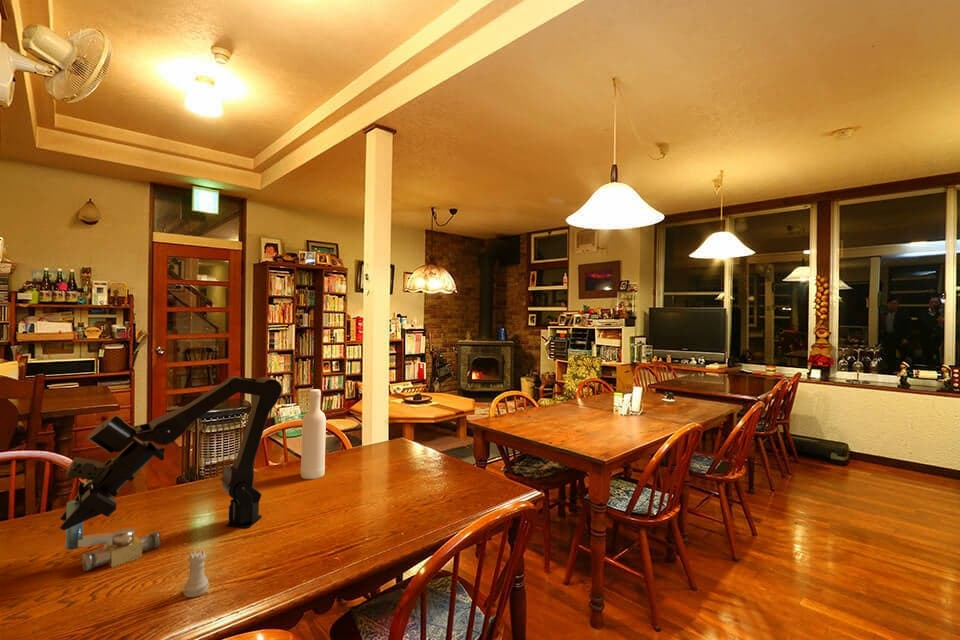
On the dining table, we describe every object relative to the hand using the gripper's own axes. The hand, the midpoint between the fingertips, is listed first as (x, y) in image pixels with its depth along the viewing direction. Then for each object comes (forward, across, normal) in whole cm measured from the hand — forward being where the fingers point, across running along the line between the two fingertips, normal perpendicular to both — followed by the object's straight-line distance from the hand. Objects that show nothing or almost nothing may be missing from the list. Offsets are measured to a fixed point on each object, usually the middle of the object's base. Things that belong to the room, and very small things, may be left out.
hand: (61, 524), depth 99 cm
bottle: (-38, -23, +53) cm, 69 cm away
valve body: (0, +2, +14) cm, 15 cm away
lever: (0, +1, +9) cm, 9 cm away
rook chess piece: (-8, +27, +22) cm, 35 cm away
